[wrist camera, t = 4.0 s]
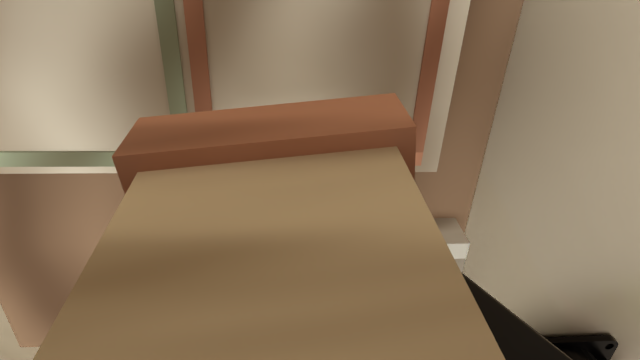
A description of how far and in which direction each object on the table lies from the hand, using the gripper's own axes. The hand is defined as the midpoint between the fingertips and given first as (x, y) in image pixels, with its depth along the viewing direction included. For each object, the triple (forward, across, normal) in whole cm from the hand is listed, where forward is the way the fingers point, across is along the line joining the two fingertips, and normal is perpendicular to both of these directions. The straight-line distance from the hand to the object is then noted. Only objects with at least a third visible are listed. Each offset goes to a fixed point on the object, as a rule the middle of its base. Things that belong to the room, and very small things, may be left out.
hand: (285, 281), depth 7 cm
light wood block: (+2, 0, 0) cm, 2 cm away
